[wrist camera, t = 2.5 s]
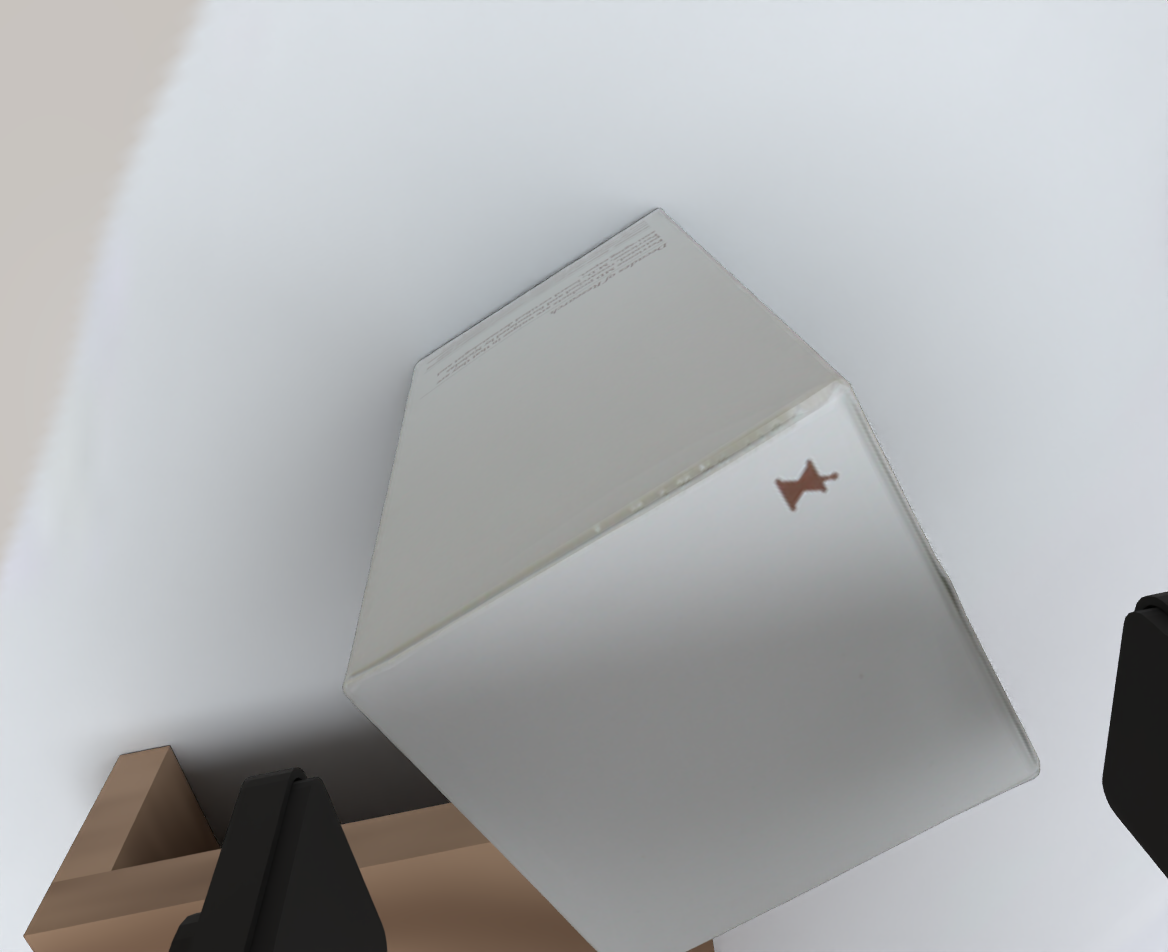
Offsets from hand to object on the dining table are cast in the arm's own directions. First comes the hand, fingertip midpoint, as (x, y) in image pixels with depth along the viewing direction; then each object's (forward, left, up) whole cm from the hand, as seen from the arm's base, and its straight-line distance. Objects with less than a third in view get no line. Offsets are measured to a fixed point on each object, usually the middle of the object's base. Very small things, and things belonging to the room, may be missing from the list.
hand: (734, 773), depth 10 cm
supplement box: (-1, 0, -14) cm, 14 cm away
